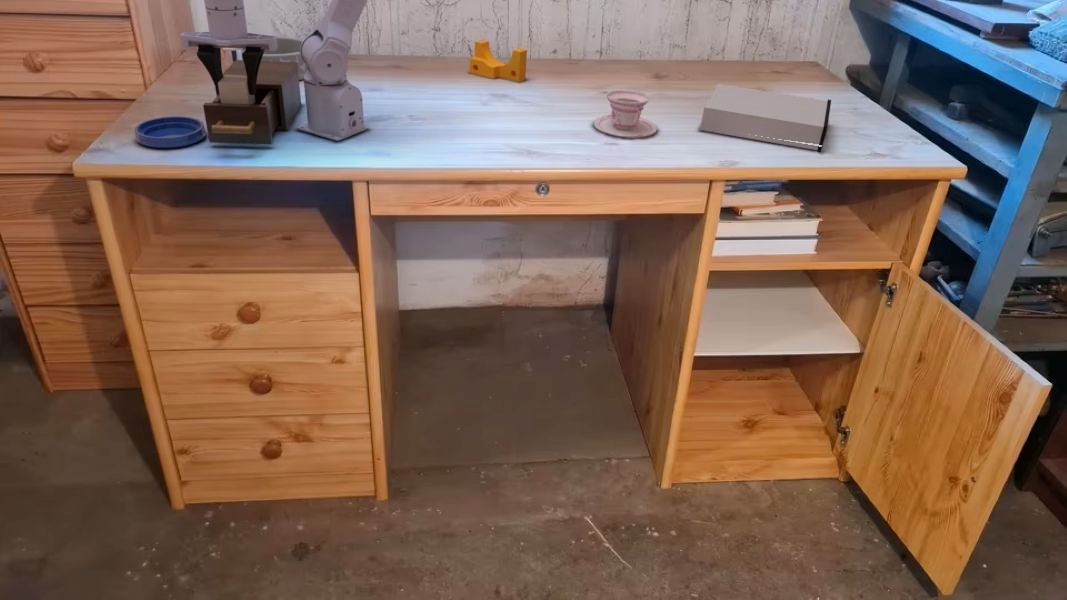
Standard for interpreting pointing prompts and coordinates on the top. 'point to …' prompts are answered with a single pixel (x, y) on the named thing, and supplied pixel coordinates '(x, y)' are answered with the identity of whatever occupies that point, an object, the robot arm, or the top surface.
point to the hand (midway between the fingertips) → (237, 92)
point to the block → (235, 90)
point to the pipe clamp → (498, 63)
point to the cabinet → (276, 85)
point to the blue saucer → (170, 132)
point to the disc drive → (767, 116)
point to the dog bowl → (287, 53)
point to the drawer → (244, 119)
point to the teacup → (626, 115)
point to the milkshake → (230, 56)
